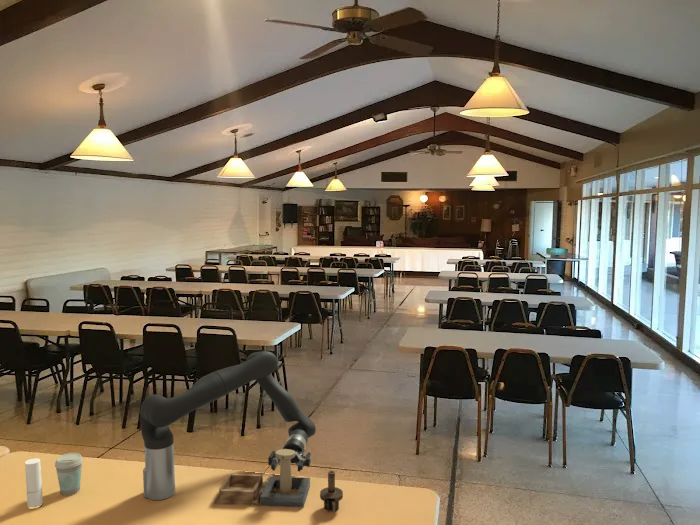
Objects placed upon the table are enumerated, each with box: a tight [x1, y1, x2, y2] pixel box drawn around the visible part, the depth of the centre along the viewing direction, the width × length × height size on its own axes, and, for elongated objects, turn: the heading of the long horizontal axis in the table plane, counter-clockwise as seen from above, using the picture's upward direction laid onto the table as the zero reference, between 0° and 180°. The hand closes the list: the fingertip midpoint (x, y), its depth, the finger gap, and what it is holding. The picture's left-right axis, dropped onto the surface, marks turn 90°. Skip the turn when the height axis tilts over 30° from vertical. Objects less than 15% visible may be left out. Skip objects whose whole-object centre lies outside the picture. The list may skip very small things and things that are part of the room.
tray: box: [214, 473, 267, 506], centre depth 195 cm, size 14×14×4 cm
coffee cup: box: [54, 452, 84, 496], centre depth 196 cm, size 8×9×12 cm
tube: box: [24, 457, 44, 508], centre depth 187 cm, size 4×4×15 cm
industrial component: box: [319, 470, 344, 513], centre depth 186 cm, size 9×7×12 cm
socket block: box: [259, 476, 311, 508], centre depth 194 cm, size 14×14×3 cm
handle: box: [275, 448, 295, 494], centre depth 193 cm, size 5×6×15 cm
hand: (286, 468), depth 194 cm, fingers open, 8 cm apart
